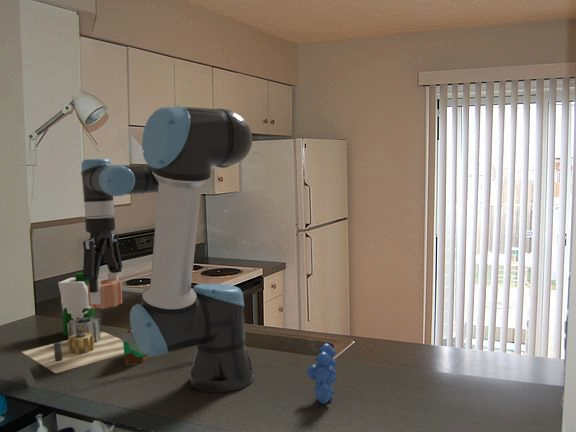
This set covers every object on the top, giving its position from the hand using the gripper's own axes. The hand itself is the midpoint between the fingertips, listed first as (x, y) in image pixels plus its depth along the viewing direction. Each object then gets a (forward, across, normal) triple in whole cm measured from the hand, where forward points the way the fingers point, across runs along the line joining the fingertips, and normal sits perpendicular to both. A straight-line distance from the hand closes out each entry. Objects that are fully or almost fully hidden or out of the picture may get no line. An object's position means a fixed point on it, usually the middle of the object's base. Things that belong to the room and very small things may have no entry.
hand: (105, 299), depth 150 cm
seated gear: (+14, -8, -12) cm, 20 cm away
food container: (+16, +4, +12) cm, 20 cm away
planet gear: (+1, 0, 0) cm, 1 cm away
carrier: (+16, 0, -8) cm, 18 cm away
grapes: (+17, +18, +62) cm, 67 cm away
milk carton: (+16, -15, -19) cm, 29 cm away
